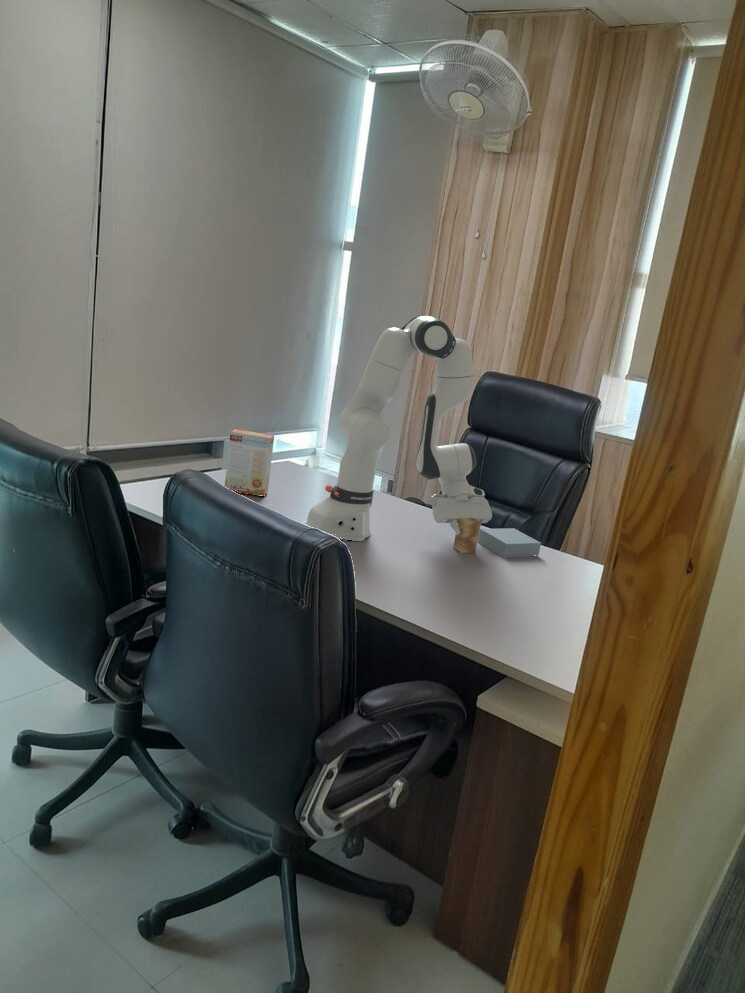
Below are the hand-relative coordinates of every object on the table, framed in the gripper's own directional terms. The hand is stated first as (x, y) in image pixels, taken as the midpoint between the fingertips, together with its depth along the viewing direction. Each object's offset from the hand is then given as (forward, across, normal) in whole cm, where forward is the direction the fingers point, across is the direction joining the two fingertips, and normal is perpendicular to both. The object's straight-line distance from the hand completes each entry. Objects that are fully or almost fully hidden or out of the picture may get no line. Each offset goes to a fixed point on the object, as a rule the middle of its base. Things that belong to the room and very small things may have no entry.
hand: (468, 534), depth 244 cm
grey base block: (+4, +17, +5) cm, 18 cm away
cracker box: (-38, -52, +45) cm, 79 cm away
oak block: (+3, 0, +4) cm, 5 cm away
